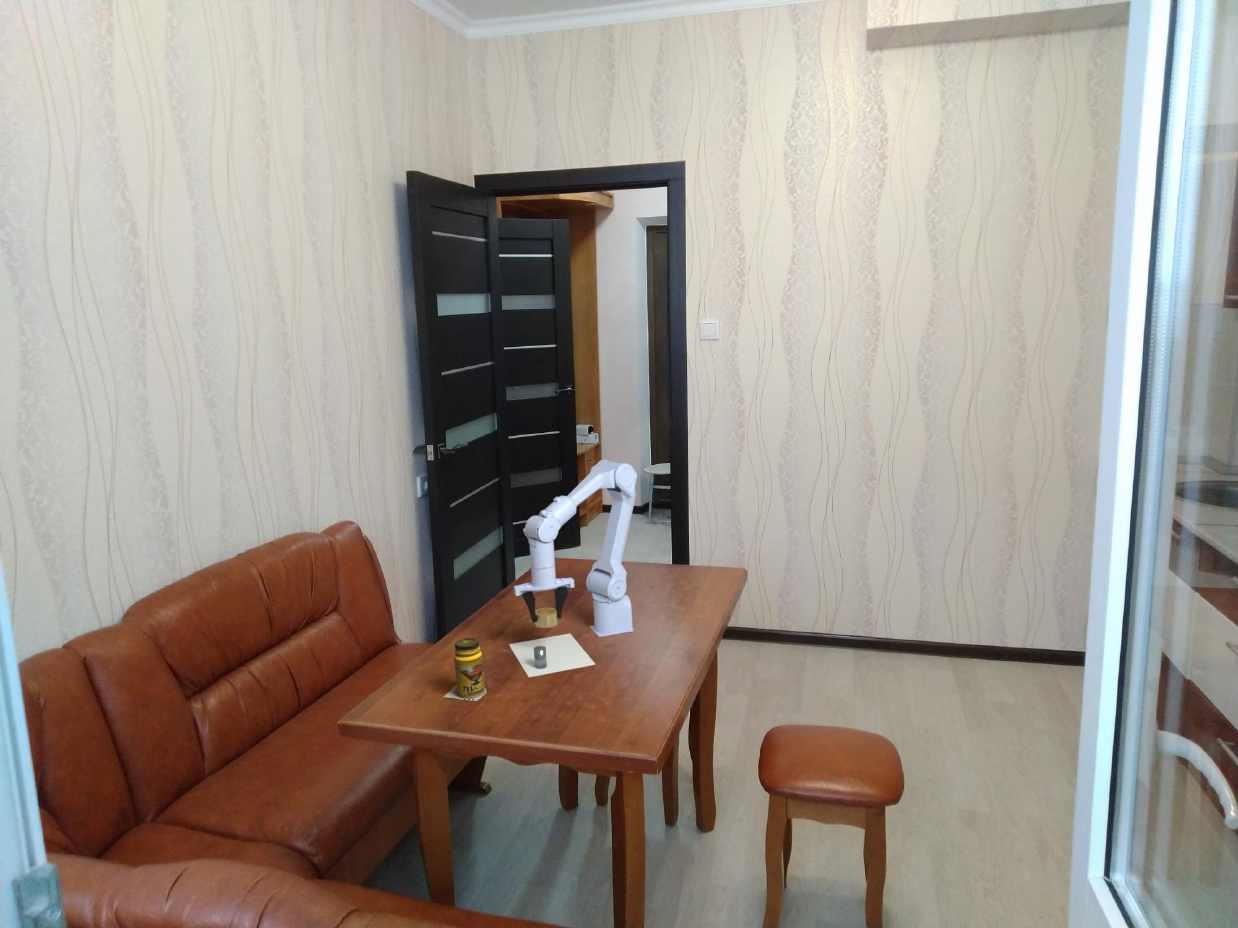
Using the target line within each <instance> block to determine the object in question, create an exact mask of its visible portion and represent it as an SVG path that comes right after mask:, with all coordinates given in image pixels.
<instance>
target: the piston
mask: <svg viewBox="0 0 1238 928" xmlns="http://www.w3.org/2000/svg"><path fill="white" fill-rule="evenodd" d="M534 660H535V668H537V669H543V668H546V667H547V659H546V647H545V646H537V647H535V648H534Z"/></svg>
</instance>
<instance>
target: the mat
mask: <svg viewBox="0 0 1238 928" xmlns="http://www.w3.org/2000/svg"><path fill="white" fill-rule="evenodd" d="M508 645H509V647H510V649H511V651H512V652H513V654H514V655H515V657H516V659H517V660H518V662H519V663H520V665H521V667H522V668H523V670H524V671H525V673H526V675H527V677H528V678H532V677H538V676H544V675H547V674H549V675H550V674H553V673H557V672H559V673H560V672H563V671H568V670H575V669H579V668H586V667H589V666H594V665H596V663H595V662H594V661H593V659H592V658H591V657H590V655H589V654H588V653H587V652H586V651H585V650H584V649H583V647H582V645H580V644H579V642H578V641H577V640H576V639H575V637H574V636H573V635H572V634H571V633H565V634H558V635H552V636H548V637H544V638H543V637H542V638H538V639H537V638H536V639H532V640H527V641H526V640H525V641H520V642H515V643H510V644H508ZM537 646H545V647H546V659H547V667H546V668H543V669H537V668H535V660H534V648H535V647H537Z"/></svg>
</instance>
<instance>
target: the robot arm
mask: <svg viewBox="0 0 1238 928" xmlns="http://www.w3.org/2000/svg"><path fill="white" fill-rule="evenodd" d="M637 478H638V473H637V472H636V470H635V469H634V467H633V466H632V465H631V464H630V463H621V462H616V461H610V460H608V459H601V460H599V461H598V462H597V463H596V464H595V465H594V466H592V467H591V469H590V472H589V474H588V475H586V476H585V477H584V478H583V480H581V481H580V482H579V484H577V486H576V487H575V488H573V490H571V492H570V493H568V495H567V496H566V495H560V496H556V497H555V498H553V499H552V500H553V502H551V503H550V504H549V505H548V506H547V507H546V508H544V509H542V510H541V511H540V512H539V514H538V515H536V514H535V515H532V516H530V518H528V519H527V521H526V523H525V526H524V528H523V533H524V535H525V537H526V538H527V540H528V544H529V553H530V556H529V557H530V571H531V581H529V582H526V583H522V584H518V585H514V586H513V594H514V595H515V596H516V597H518V596H522V599H523V600H524V602H525V604H526V606H527V608H528V611H529V615H530V618H531V619H530V620H531V621H532V623H533V624H535V622H536V613H535V611H536V597H535V595H534V593H538V592H539V593H540V592H547V591H553V590H554V592H553V593H554V599H555V609H557V610H558V620H560V619H561V618H562V614H563V613H562V612H563V609H564V605H565V602H566V600H567V598H568V596H569V589H568V588H571V589H572V588H575V579H574V578H573V577H563V578H557V576H556V562H555V559H556V558H555V545H554V544H555V543H554V542H555V541H554V540H556V538H557V536H558V534H559V530H560V529H561V528H562V526H564V525H565V524H566V523H567V522H568V521H569V520H570V519H572V517H574V516H575V515H576V514H577V507H578V506H579V505H581V504H582V503H583V502H584V501H586V500H587V499H588V498H589V497H591V496H592V495H593V494H595V493H596V492H597V491H598V490H600V489H601V490H602V489H605V490H607V492H608V493H609V495H610V496H611V498H612V504H611V508H610V512H609V518H608V521H607V527H606V532H605V537H604V541H603V545H602V548H601V549H602V550H601V555H600V558H599V559H597V560H596V561H595V562H594V563H593V564H592V566H591V570H590V571H589V573H588V575H587V577H586V585H585V586H586V588H587V590H588V591H589V592H590V593H591V597H592V601H593V602H592V603H593V605H592V606H593V619H594V622H593V623H594V624H593V625H589V628H590V629H591V630H592V632H594V633H595V634H596V636H598V637H606V636H607V637H608V636H612V635H618V634H622V633H623V634H624V633H633V632H634V631H635V630H634V628H633V611H632V610H633V608H632V603H631V599H630V597H629V595H627V594H626V591H627V588H628V587H627V575H628V574H627V573H628V572H627V571H626V569H625V567H624V566H623V564H622V560H623V558H624V557H623V556H624V552H625V549H626V542H627V538H628V533H629V530H630V524H631V519H632V516H633V510H634V506H635V502H636V497H637V495H636V493H637V492H636V484H637Z"/></svg>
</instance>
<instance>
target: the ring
mask: <svg viewBox="0 0 1238 928" xmlns="http://www.w3.org/2000/svg"><path fill="white" fill-rule="evenodd" d="M535 613H536V622H535V623H534V626H535V627H537V628H541V629H542V628H544V629H545V628H546V629H547V628H554V627H555V626H557V625H558V624H559V619H558V610H557V609H556V607H555V608H554V607H542V608H538V609H535Z"/></svg>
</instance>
